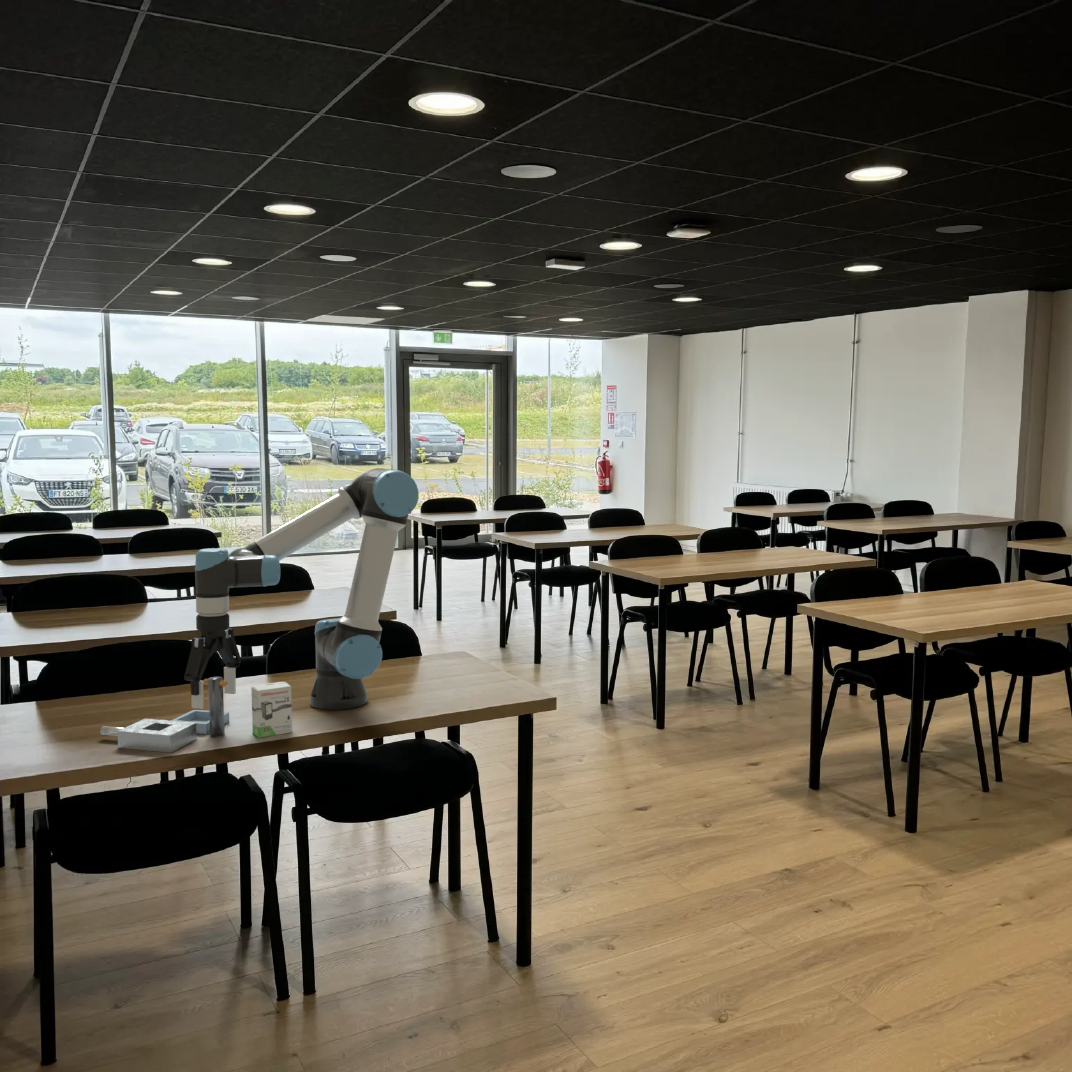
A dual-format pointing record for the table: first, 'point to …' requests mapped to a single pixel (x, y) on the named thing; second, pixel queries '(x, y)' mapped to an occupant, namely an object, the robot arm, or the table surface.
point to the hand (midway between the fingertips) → (214, 700)
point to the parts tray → (200, 720)
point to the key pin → (216, 705)
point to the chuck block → (153, 735)
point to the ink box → (271, 709)
